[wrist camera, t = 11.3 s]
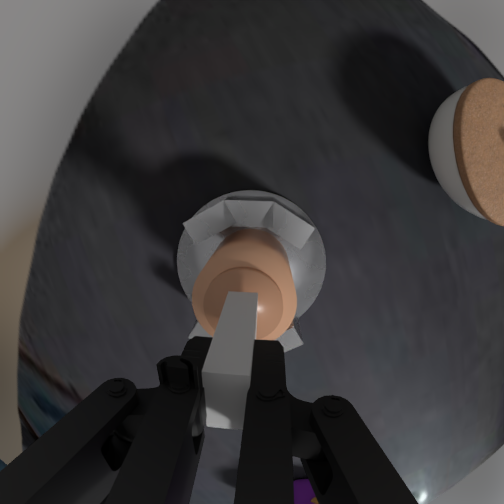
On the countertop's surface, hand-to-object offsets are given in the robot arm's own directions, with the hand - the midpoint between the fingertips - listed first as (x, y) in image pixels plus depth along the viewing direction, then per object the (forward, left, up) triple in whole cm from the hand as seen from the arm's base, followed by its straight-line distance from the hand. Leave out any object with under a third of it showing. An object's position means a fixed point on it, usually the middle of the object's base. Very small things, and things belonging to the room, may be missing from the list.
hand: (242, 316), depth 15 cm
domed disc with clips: (0, 0, -9) cm, 9 cm away
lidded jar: (+18, +11, -9) cm, 23 cm away
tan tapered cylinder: (0, 0, -9) cm, 9 cm away
